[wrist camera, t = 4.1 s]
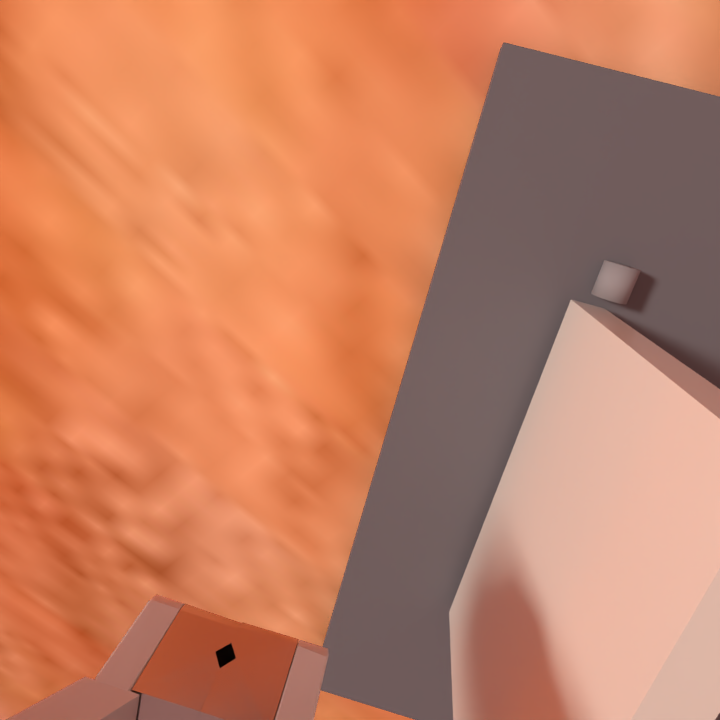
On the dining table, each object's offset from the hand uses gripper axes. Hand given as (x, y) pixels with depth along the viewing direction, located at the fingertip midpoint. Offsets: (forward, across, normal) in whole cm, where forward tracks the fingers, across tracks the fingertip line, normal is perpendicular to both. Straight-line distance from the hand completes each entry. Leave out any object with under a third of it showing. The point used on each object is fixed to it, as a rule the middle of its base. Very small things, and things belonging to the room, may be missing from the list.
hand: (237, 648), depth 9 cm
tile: (+10, +7, 0) cm, 12 cm away
